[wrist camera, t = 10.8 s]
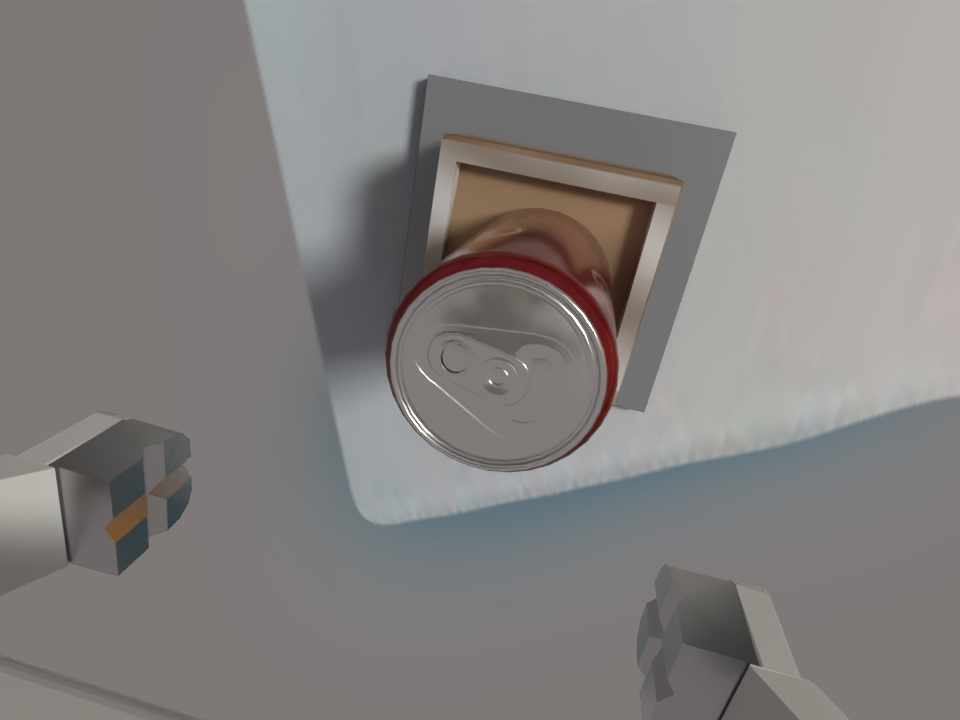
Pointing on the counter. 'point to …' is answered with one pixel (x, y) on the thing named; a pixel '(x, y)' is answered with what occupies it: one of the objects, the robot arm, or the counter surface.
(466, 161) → the wooden tray
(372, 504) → the counter surface
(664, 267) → the plate
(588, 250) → the soda can
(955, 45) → the counter surface
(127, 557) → the robot arm
